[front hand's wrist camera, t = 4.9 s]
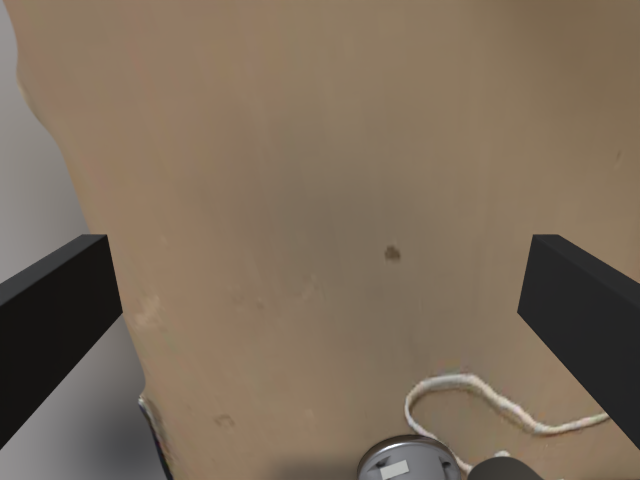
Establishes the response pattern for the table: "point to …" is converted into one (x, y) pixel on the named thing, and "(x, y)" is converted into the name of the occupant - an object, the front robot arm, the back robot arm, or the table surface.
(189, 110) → the table surface
